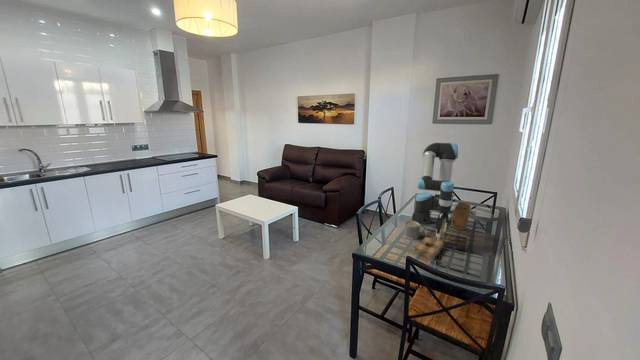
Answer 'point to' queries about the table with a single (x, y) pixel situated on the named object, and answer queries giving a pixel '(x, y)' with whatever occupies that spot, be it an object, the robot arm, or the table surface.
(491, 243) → the table surface
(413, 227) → the coffee mug
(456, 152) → the robot arm
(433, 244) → the board
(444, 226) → the peg
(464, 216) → the block
